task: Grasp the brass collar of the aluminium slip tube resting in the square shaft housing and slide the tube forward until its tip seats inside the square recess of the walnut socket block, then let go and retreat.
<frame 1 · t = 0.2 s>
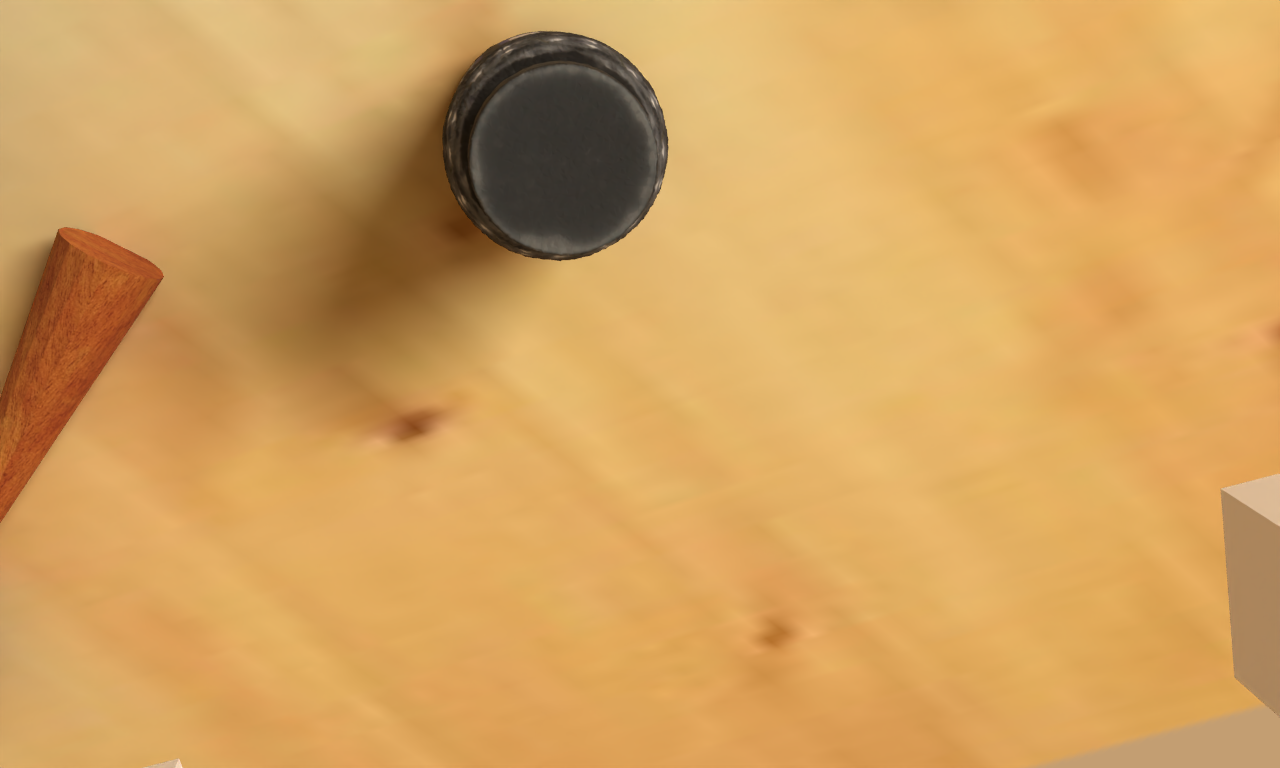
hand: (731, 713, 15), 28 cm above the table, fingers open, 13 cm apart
pill bottle: (543, 125, 40), on the table
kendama: (9, 490, 42), on the table
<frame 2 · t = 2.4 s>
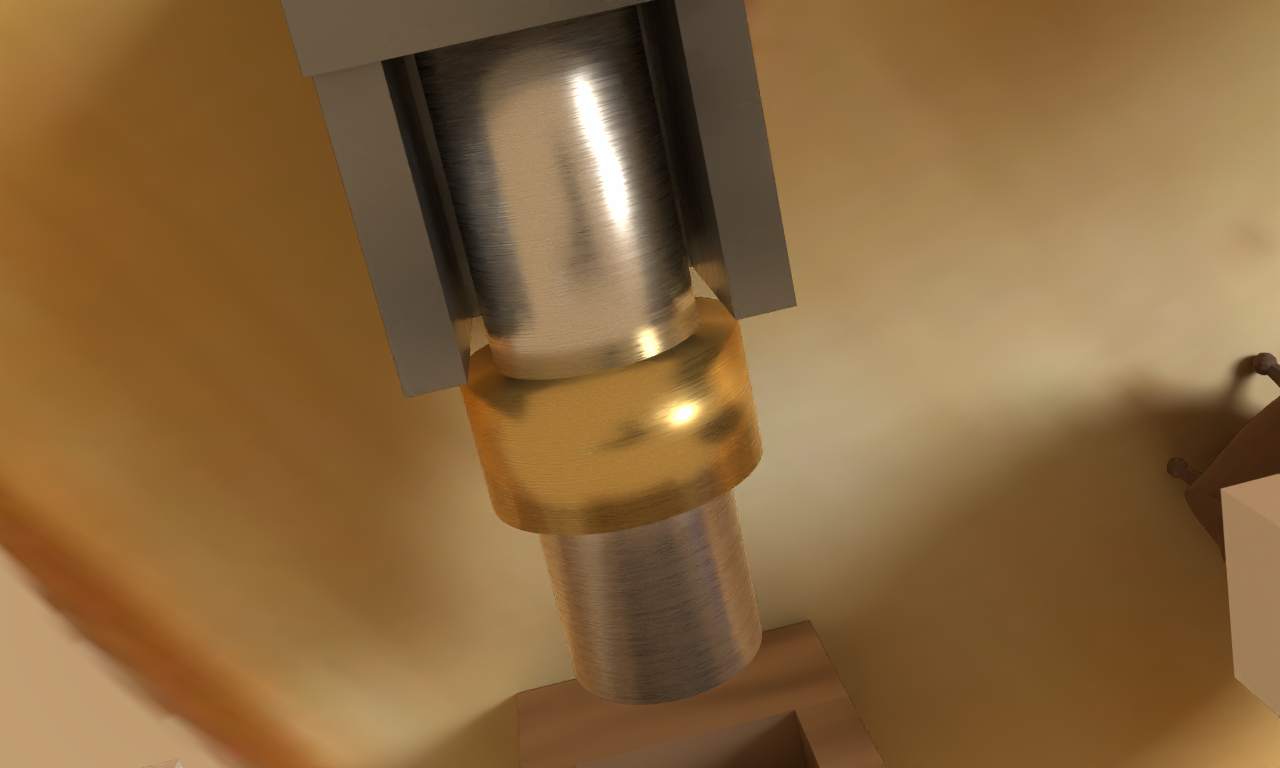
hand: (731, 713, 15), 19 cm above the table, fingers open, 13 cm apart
slip tube: (575, 249, 25), point 7 cm above the table, slide at 0.0 cm
square shaft housing: (522, 44, 30), on the table
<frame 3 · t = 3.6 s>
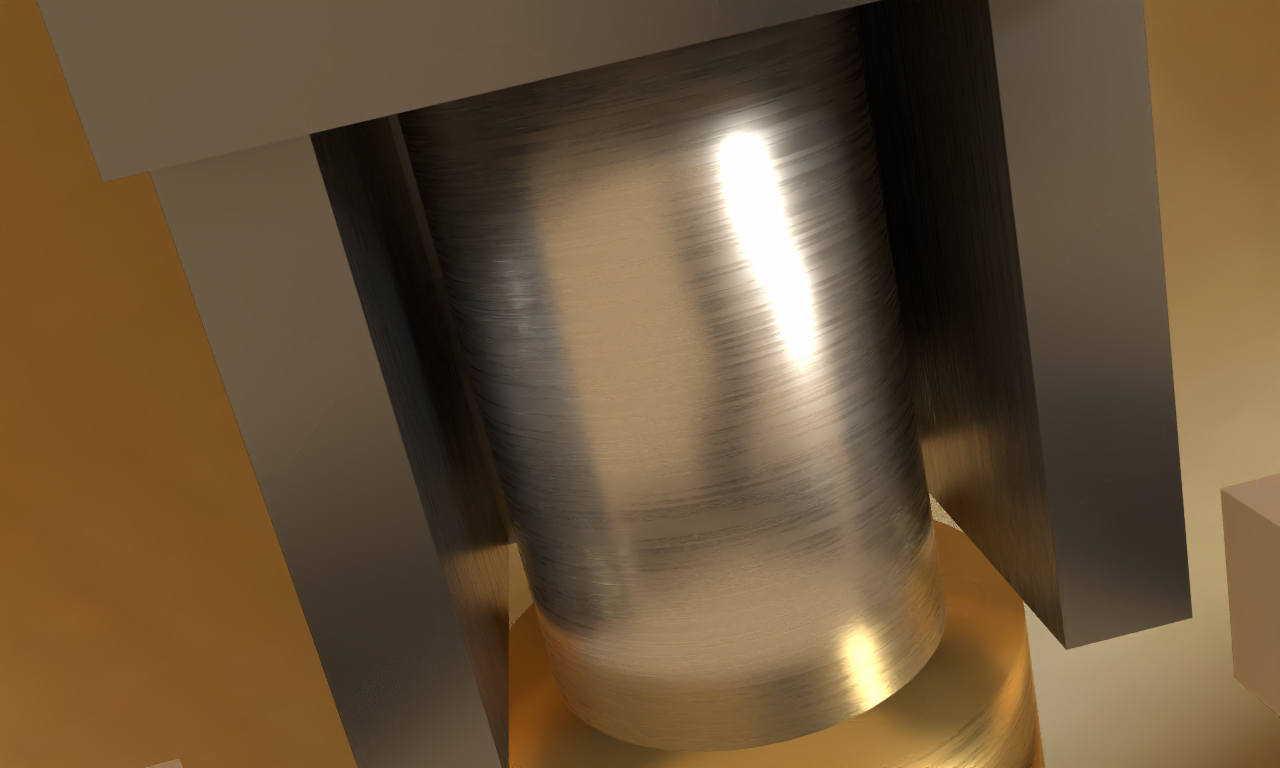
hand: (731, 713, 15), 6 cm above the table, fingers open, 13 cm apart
slip tube: (710, 465, 13), point 7 cm above the table, slide at 0.0 cm
square shaft housing: (584, 59, 18), on the table
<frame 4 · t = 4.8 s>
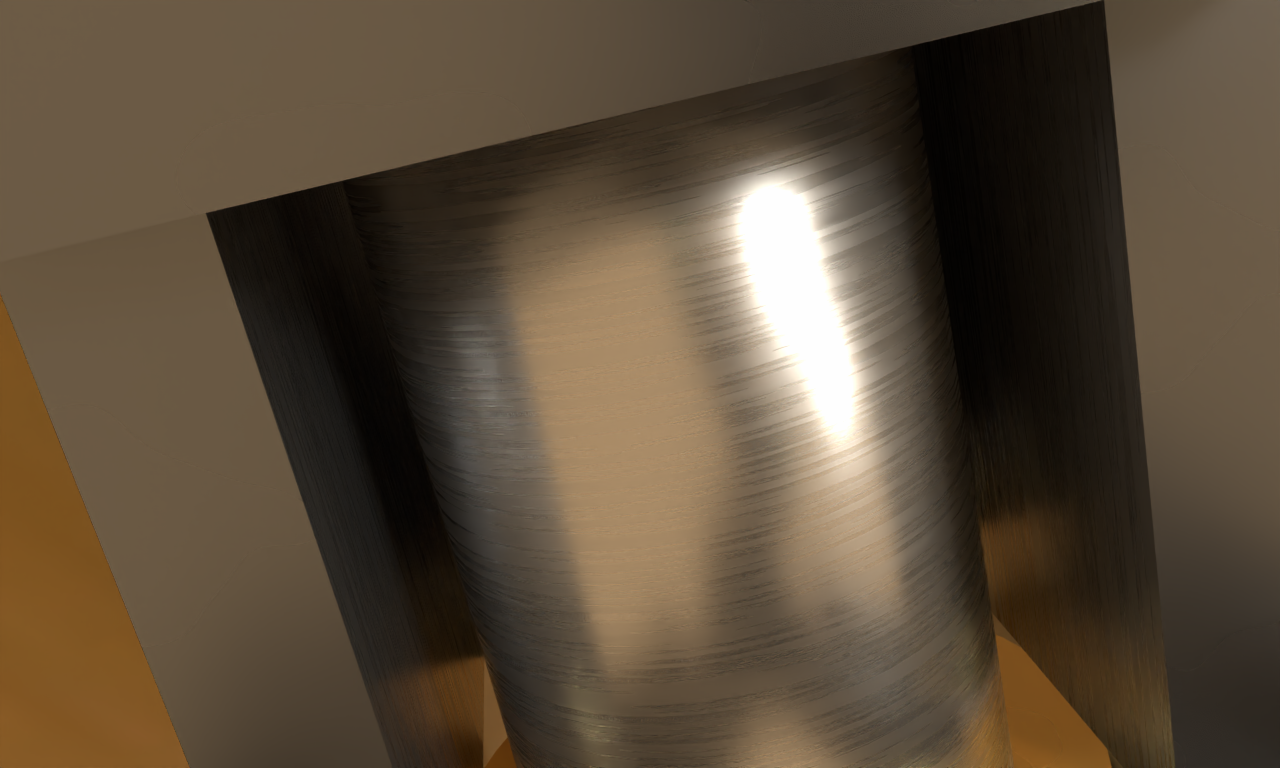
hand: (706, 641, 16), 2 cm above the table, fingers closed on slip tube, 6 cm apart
slip tube: (727, 584, 11), point 7 cm above the table, slide at 0.0 cm, touching gripper
square shaft housing: (570, 86, 16), on the table
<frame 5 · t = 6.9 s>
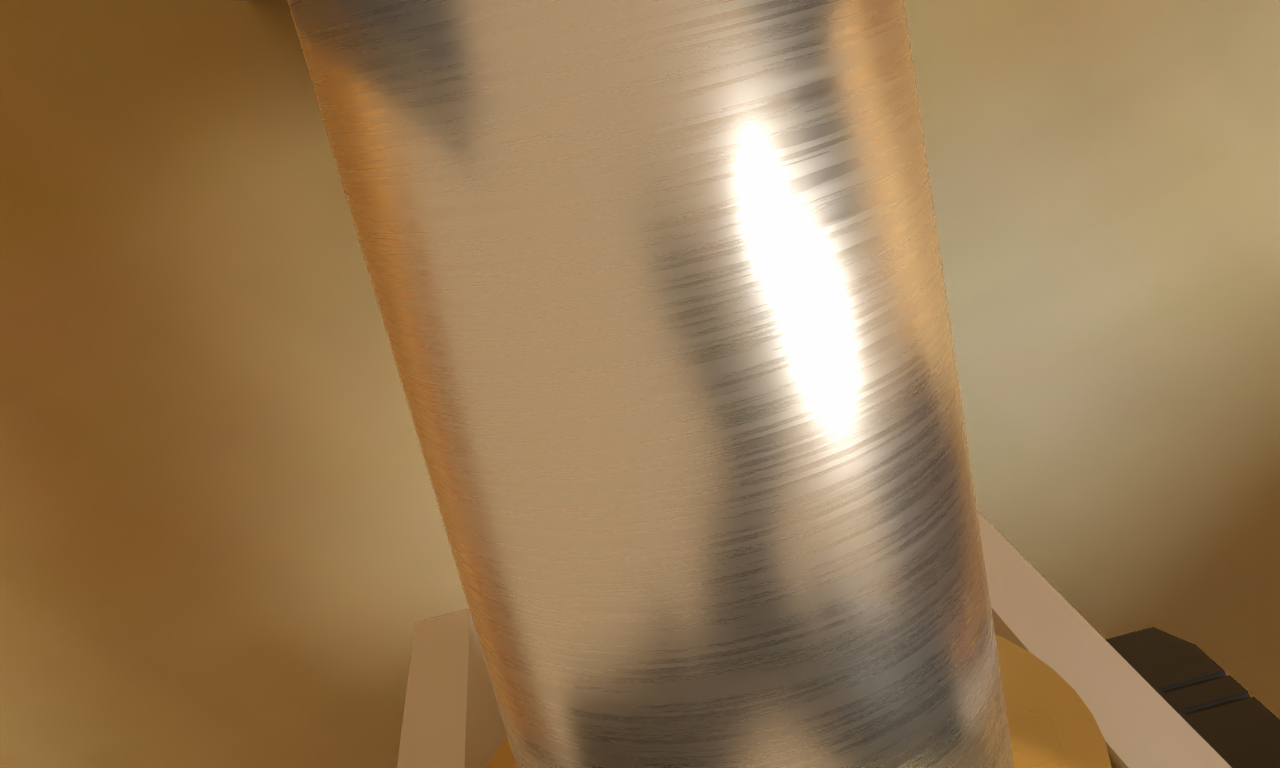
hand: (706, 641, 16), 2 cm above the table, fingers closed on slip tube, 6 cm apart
slip tube: (727, 584, 11), point 7 cm above the table, slide at 7.5 cm, touching gripper
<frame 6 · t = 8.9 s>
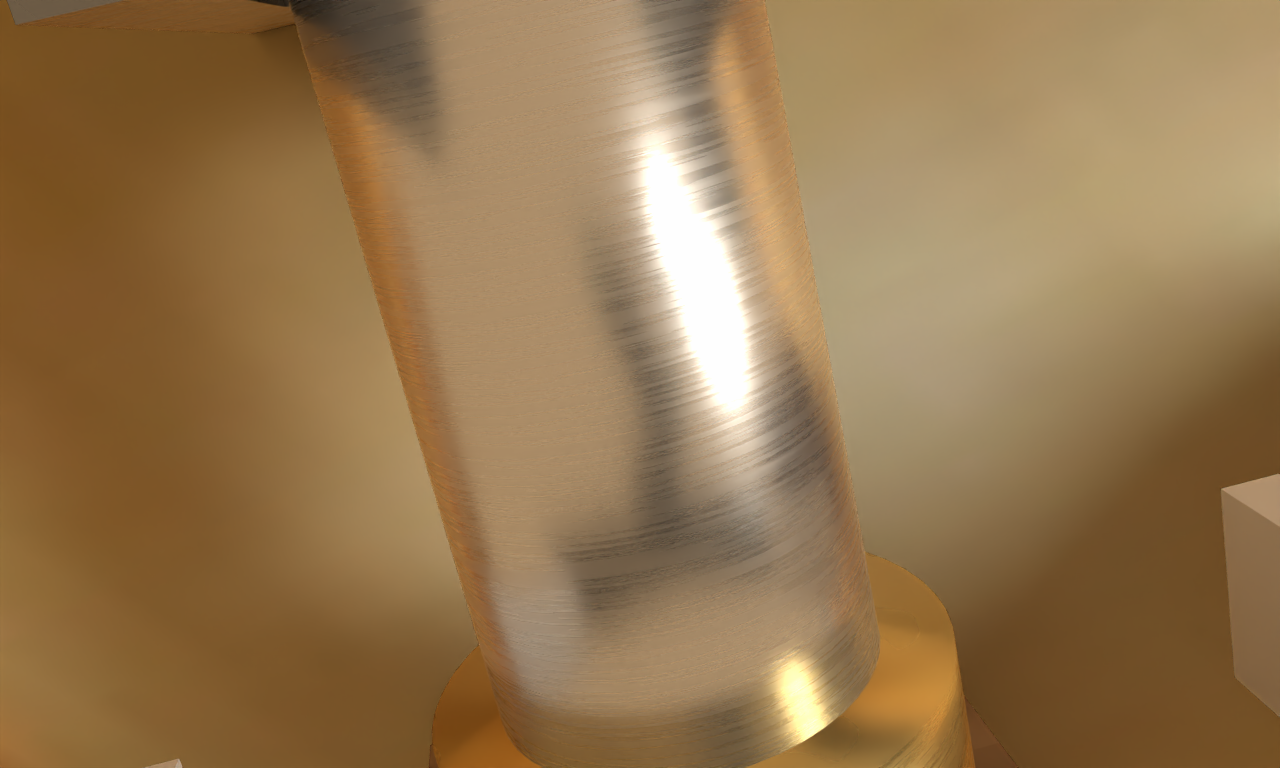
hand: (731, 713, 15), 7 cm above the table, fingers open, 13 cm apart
slip tube: (650, 504, 13), point 7 cm above the table, slide at 7.5 cm
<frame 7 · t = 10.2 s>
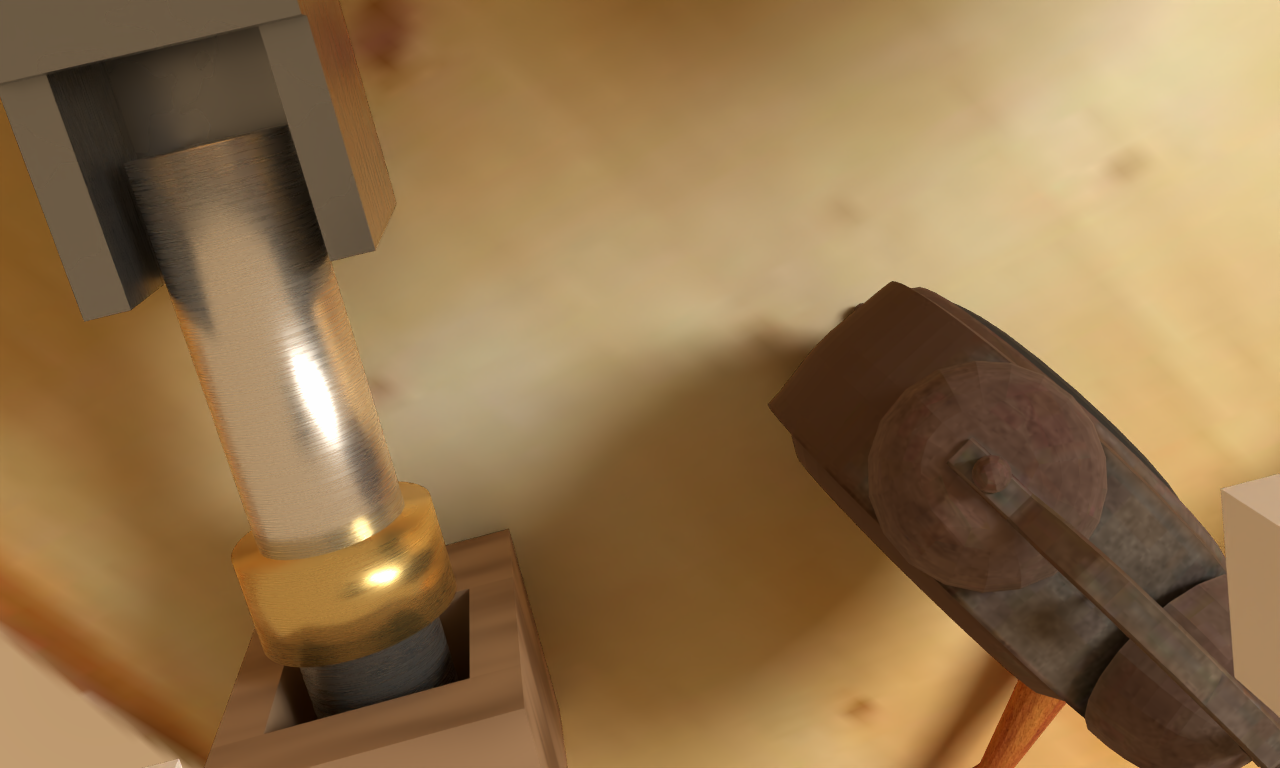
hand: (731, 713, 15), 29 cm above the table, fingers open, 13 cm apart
slip tube: (312, 463, 35), point 7 cm above the table, slide at 7.5 cm
socket block: (418, 654, 45), on the table
square shaft housing: (233, 65, 39), on the table
alarm clock: (903, 410, 45), on the table
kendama: (970, 728, 50), on the table
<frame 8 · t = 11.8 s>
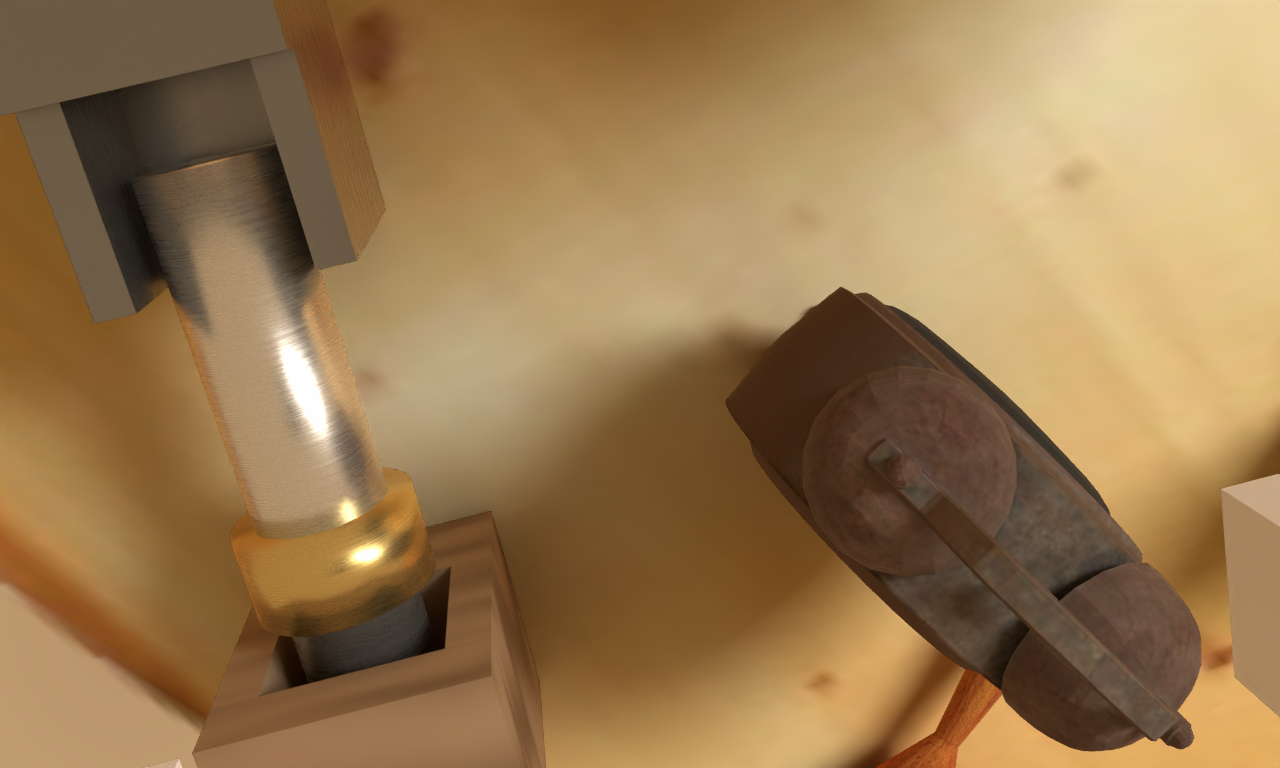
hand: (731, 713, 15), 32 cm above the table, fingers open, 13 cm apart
slip tube: (303, 451, 38), point 7 cm above the table, slide at 7.5 cm
socket block: (408, 626, 49), on the table
square shaft housing: (234, 81, 42), on the table
alarm clock: (862, 403, 48), on the table
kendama: (928, 700, 53), on the table
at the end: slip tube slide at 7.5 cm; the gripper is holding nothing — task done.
